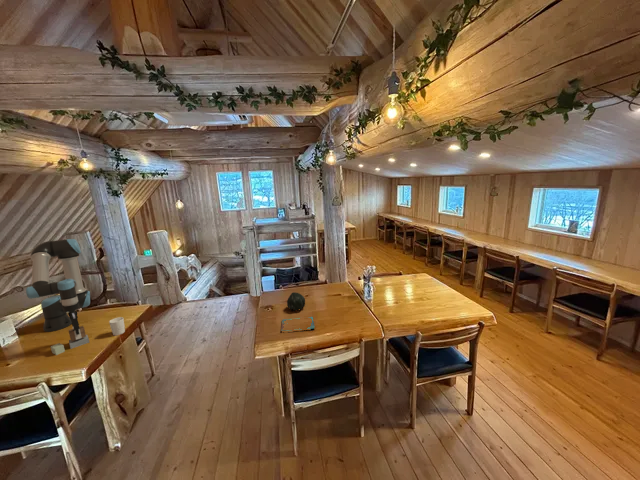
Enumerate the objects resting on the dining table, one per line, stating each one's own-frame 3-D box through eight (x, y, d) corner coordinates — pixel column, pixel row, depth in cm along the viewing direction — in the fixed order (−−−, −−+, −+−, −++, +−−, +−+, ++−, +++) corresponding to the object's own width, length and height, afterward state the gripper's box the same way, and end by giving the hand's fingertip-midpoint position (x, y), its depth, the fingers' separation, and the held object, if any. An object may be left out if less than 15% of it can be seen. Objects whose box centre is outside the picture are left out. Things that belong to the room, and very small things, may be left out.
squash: (310, 299, 211) (298, 286, 211) (305, 307, 197) (292, 293, 196) (299, 308, 215) (286, 295, 215) (293, 318, 201) (280, 304, 201)
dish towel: (315, 331, 173) (315, 327, 173) (280, 334, 171) (280, 330, 171) (313, 318, 190) (313, 315, 190) (281, 321, 188) (281, 318, 188)
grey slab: (69, 345, 167) (68, 340, 166) (88, 339, 174) (87, 334, 173) (70, 349, 162) (69, 344, 162) (89, 342, 169) (88, 338, 168)
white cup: (124, 328, 185) (121, 316, 183) (127, 332, 180) (124, 319, 178) (110, 333, 179) (107, 320, 177) (113, 337, 174) (110, 323, 172)
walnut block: (70, 338, 166) (68, 330, 165) (84, 333, 172) (82, 325, 170) (71, 341, 163) (69, 332, 162) (86, 336, 168) (84, 328, 167)
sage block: (52, 353, 159) (50, 346, 158) (60, 349, 162) (59, 342, 162) (56, 355, 156) (54, 348, 155) (65, 351, 160) (63, 345, 159)
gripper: (60, 302, 166) (68, 334, 170) (63, 309, 154) (72, 344, 158) (76, 298, 172) (83, 330, 176) (80, 305, 160) (88, 339, 164)
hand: (78, 337), depth 167 cm, fingers closed on walnut block, 5 cm apart
